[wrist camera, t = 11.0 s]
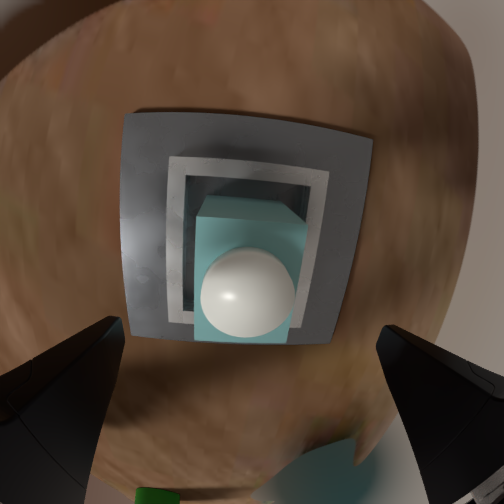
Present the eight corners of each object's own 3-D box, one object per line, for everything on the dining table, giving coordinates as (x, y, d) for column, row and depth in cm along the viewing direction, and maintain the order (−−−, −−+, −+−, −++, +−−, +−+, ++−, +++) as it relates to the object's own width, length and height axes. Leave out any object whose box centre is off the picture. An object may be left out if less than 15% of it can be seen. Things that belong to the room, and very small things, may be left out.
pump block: (202, 284, 18) (192, 353, 11) (207, 195, 16) (193, 222, 9) (268, 288, 19) (290, 356, 12) (280, 201, 17) (315, 231, 10)
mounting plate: (134, 329, 20) (126, 347, 18) (129, 115, 14) (115, 110, 12) (327, 337, 22) (335, 354, 20) (367, 139, 16) (384, 139, 14)
